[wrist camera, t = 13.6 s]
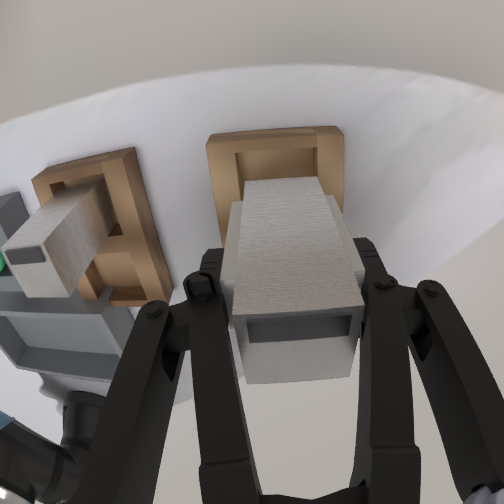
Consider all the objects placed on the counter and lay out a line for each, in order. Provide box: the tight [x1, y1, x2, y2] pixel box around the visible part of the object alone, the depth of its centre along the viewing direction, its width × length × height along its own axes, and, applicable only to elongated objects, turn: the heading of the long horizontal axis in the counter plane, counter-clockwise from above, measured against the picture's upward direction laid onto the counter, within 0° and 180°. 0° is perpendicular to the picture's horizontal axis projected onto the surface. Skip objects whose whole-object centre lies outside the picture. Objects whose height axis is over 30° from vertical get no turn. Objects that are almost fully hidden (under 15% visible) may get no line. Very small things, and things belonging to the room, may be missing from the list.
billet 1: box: [1, 173, 118, 297], centre depth 20 cm, size 4×4×10 cm
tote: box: [0, 286, 134, 383], centre depth 33 cm, size 12×22×4 cm, turn 96°
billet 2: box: [232, 176, 365, 384], centre depth 15 cm, size 4×4×10 cm
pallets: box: [31, 126, 344, 307], centre depth 25 cm, size 14×24×2 cm, turn 96°
